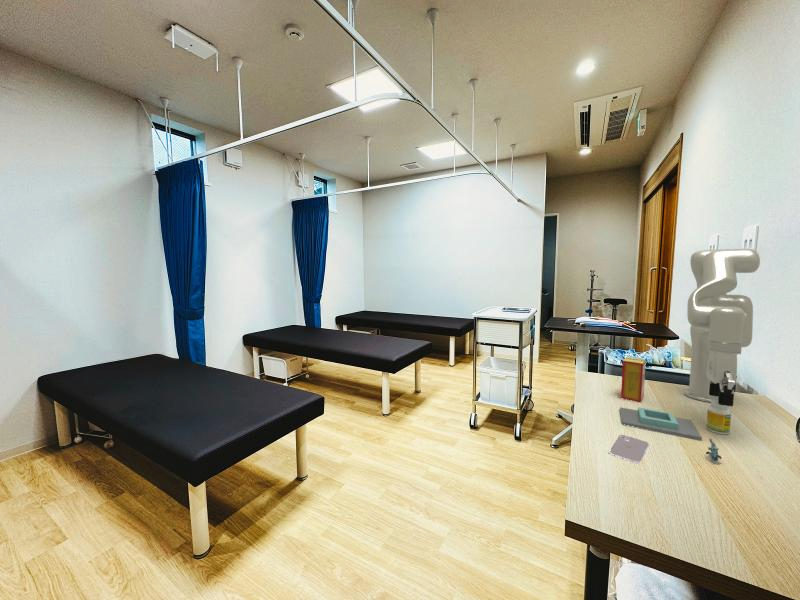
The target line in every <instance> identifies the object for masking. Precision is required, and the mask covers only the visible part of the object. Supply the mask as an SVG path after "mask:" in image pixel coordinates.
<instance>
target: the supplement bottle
mask: <svg viewBox="0 0 800 600" xmlns="http://www.w3.org/2000/svg"><path fill="white" fill-rule="evenodd" d="M729 407H730V406H725V405H720V404H718V400H711V402H710V405H709V406H708V407H707V416H706V429H707V430H708V431H710V432H712V433H715V434H719V435H729V434H730V431H731V430H730V429H731V418H732V412H731V410H730V409H729Z"/></svg>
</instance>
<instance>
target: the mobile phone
mask: <svg viewBox="0 0 800 600" xmlns="http://www.w3.org/2000/svg"><path fill="white" fill-rule="evenodd" d="M616 439H617V440H616ZM616 439H615V441H614V442H615V443H614V442H613V444H612V445H613V446H611V447H612V448H611V447H610V448H611V451H610V452H611V453H612V454H614V455H617V456H619V457H622V458H625V459H628V460H630V461H633V462H636V463H635V464H637V463H640V462H641V461H643V460H642V459H644V457H645V455H646V453H647V451H648V448H649V447H648V446H650V444H649V442H647V441H645V440H641V439H638V438H635V437H631V436H628V435H625V434H619V435H618V437H617V438H616ZM630 461H629V462H630ZM633 462H632V463H633ZM641 463H642V462H641ZM641 463H640V464H641Z"/></svg>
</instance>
